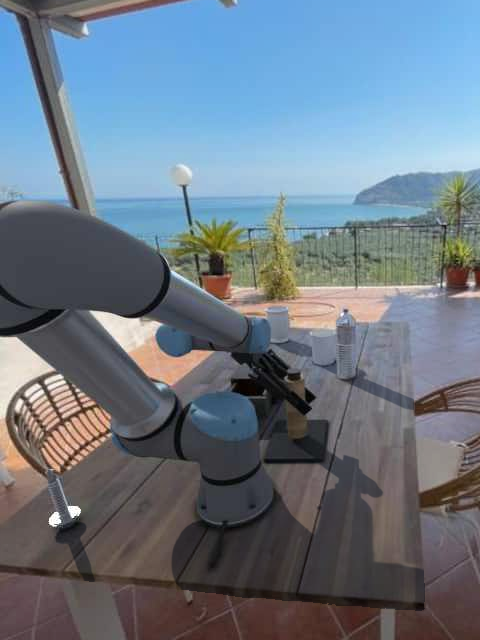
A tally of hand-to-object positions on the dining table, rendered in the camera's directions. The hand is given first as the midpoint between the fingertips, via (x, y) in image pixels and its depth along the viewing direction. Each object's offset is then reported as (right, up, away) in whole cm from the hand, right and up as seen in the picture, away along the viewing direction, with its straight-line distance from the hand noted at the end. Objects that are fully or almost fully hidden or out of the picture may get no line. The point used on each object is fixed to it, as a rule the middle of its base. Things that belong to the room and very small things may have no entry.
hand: (310, 406), depth 98 cm
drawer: (-20, -4, +17) cm, 26 cm away
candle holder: (-2, +10, +54) cm, 55 cm away
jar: (-24, +19, +77) cm, 83 cm away
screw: (-44, -20, -23) cm, 54 cm away
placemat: (-4, -10, +4) cm, 11 cm away
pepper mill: (-4, -8, +3) cm, 9 cm away
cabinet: (-20, 0, +30) cm, 36 cm away
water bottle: (+8, +5, +41) cm, 42 cm away
